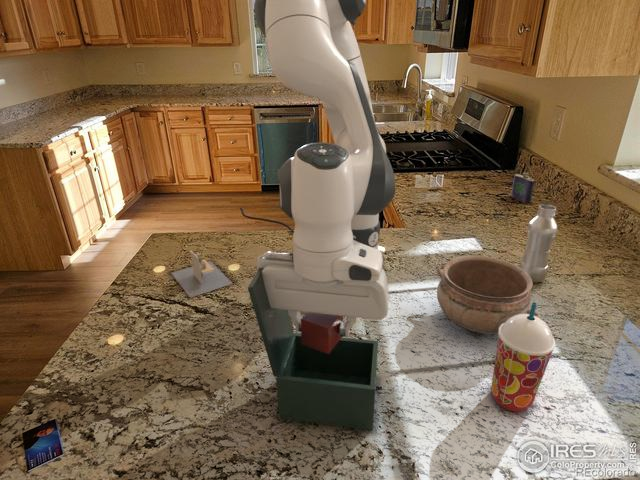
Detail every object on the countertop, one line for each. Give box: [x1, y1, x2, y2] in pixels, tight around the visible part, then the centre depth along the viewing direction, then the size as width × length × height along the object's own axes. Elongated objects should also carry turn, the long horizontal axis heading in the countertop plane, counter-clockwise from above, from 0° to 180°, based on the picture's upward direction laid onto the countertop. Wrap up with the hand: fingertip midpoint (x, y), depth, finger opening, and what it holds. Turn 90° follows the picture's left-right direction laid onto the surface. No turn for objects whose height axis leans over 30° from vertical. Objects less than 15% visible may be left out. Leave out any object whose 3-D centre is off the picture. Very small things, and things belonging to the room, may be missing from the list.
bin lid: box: [247, 250, 295, 377], centre depth 69 cm, size 16×12×1 cm
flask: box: [509, 172, 535, 205], centre depth 160 cm, size 9×3×11 cm, turn 21°
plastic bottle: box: [518, 204, 558, 283], centre depth 106 cm, size 6×7×20 cm
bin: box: [275, 332, 379, 431], centre depth 73 cm, size 16×12×9 cm
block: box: [300, 312, 344, 354], centre depth 68 cm, size 5×5×5 cm
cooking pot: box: [436, 255, 542, 335], centre depth 91 cm, size 25×19×12 cm
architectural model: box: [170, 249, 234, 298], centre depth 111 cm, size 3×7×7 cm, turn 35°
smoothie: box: [490, 301, 556, 413], centre depth 70 cm, size 8×8×20 cm
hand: (323, 332), depth 69 cm, fingers closed on block, 6 cm apart
